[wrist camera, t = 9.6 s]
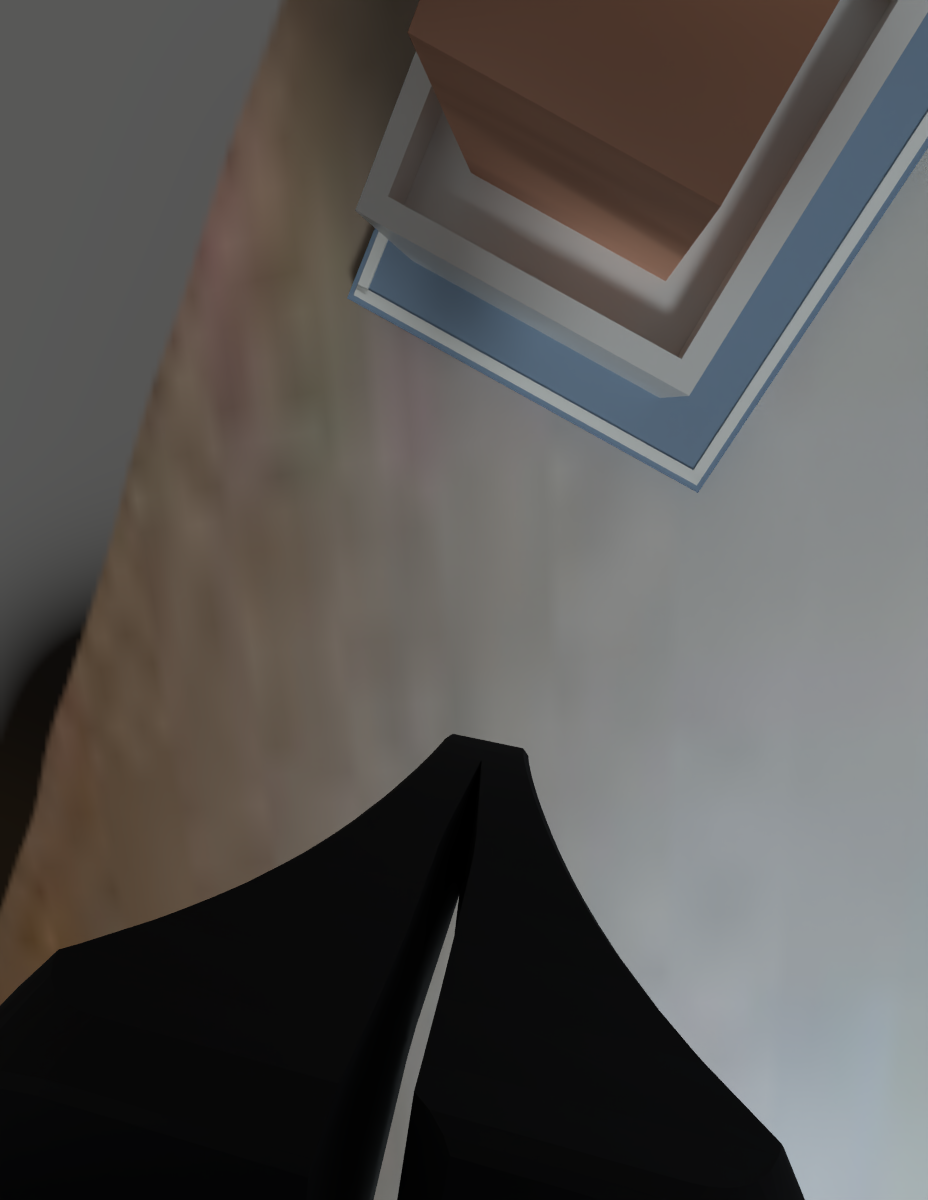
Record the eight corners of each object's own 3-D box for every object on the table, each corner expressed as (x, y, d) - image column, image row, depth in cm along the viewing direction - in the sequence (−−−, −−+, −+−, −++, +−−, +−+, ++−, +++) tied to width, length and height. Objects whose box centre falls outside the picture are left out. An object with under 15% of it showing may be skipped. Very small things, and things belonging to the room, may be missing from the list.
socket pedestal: (555, -80, 14) (546, -295, 9) (849, 83, 14) (972, -60, 9) (412, 260, 16) (355, 210, 12) (659, 398, 16) (688, 395, 12)
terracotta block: (588, -97, 11) (598, -480, 6) (811, 26, 11) (989, -261, 6) (470, 172, 12) (408, 32, 8) (665, 281, 12) (720, 206, 8)
